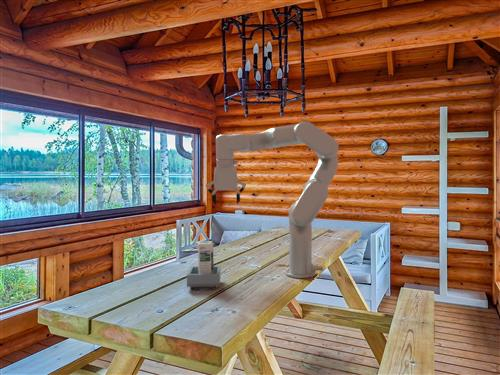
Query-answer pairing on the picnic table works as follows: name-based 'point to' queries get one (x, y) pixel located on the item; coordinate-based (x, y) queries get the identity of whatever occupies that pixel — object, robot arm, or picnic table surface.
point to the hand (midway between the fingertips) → (226, 203)
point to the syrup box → (205, 258)
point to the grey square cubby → (203, 278)
